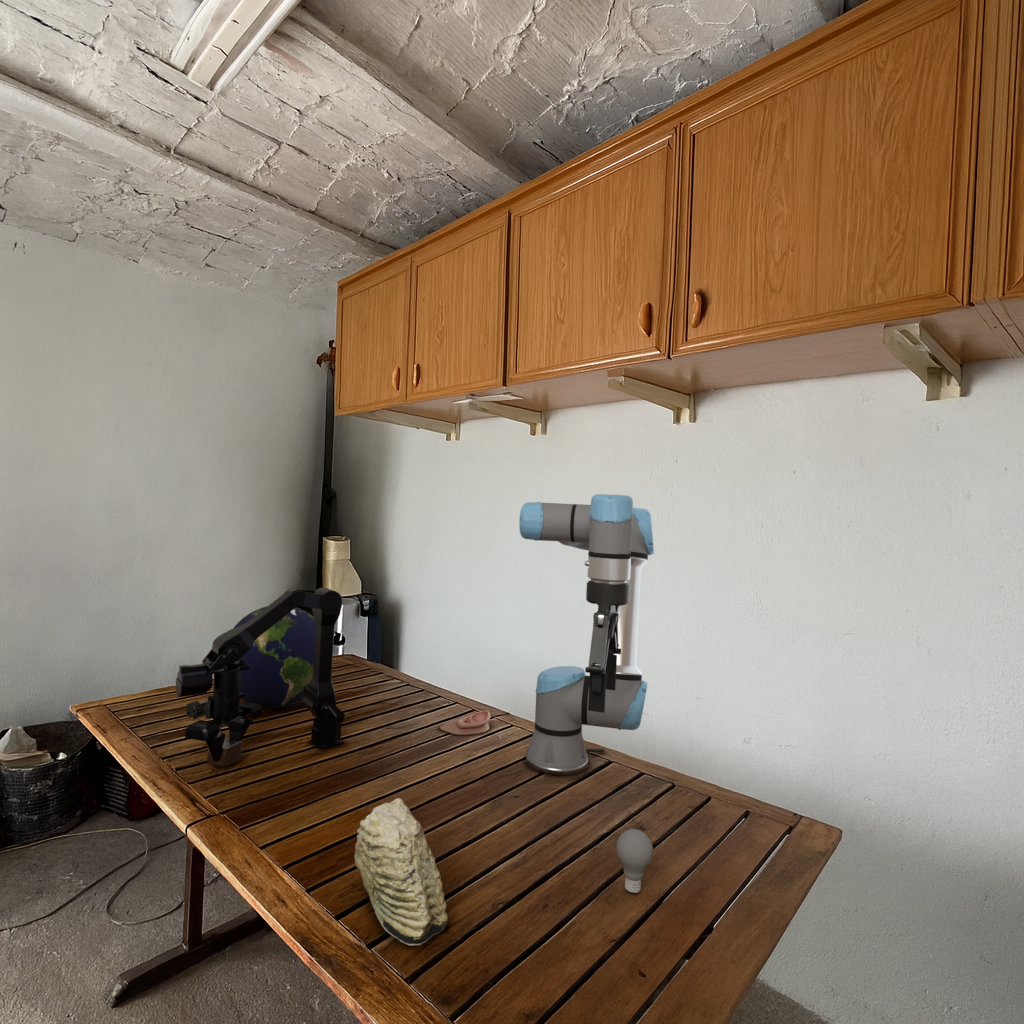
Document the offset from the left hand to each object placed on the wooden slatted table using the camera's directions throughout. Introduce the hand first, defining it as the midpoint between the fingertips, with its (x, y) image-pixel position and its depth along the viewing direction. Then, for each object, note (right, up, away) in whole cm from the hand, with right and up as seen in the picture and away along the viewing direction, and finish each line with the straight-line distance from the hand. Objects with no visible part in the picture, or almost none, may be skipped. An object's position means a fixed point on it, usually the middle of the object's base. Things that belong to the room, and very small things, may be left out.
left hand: (224, 756), depth 147 cm
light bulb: (+87, -7, -41) cm, 96 cm away
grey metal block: (0, -1, 0) cm, 1 cm away
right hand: (+83, +23, -34) cm, 92 cm away
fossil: (+49, -5, -49) cm, 69 cm away
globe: (-4, -1, +41) cm, 41 cm away
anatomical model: (+54, -4, +30) cm, 62 cm away
